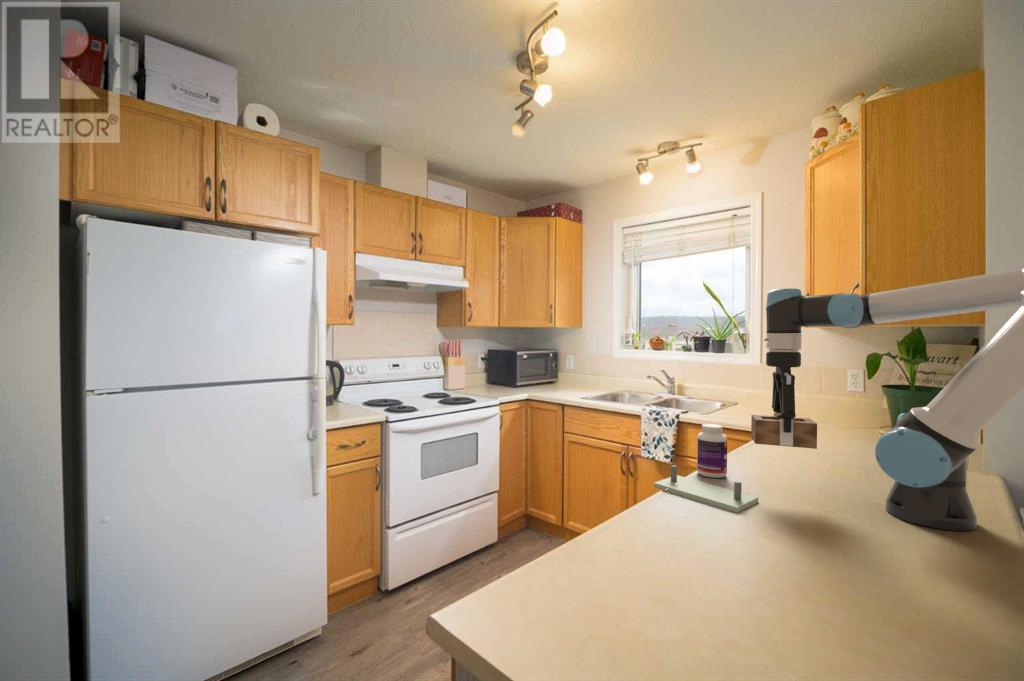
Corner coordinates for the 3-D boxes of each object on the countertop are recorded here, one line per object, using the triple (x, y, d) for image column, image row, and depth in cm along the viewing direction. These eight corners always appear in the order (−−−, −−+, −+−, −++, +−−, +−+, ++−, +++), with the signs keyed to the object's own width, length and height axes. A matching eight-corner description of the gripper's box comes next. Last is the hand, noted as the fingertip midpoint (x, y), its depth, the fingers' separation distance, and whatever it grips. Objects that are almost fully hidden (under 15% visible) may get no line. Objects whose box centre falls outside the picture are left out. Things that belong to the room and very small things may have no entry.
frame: (808, 441, 116) (808, 418, 116) (816, 448, 109) (817, 423, 109) (751, 437, 121) (751, 414, 121) (755, 443, 114) (755, 419, 114)
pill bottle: (730, 480, 129) (731, 429, 129) (699, 478, 130) (700, 427, 130) (722, 471, 137) (723, 423, 136) (694, 470, 138) (695, 422, 138)
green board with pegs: (758, 502, 112) (758, 480, 112) (737, 512, 105) (737, 490, 105) (676, 479, 129) (676, 460, 129) (653, 487, 122) (654, 467, 122)
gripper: (760, 349, 126) (759, 432, 126) (773, 351, 106) (773, 449, 107) (791, 350, 123) (791, 434, 123) (811, 352, 104) (810, 452, 104)
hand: (782, 441), depth 115 cm, fingers closed on frame, 8 cm apart
